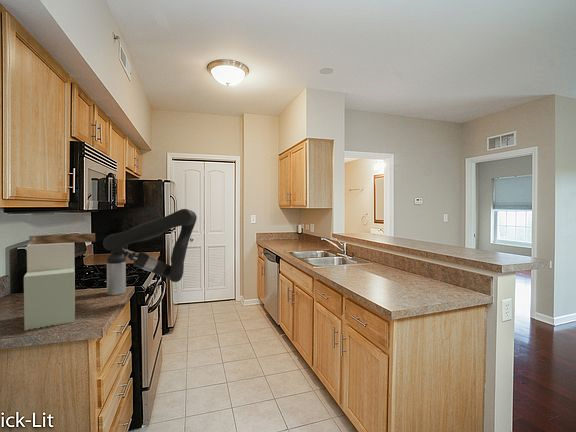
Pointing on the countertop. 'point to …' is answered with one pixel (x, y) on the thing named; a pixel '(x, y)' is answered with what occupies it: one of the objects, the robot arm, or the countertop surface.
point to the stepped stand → (49, 285)
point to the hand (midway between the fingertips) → (114, 248)
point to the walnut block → (61, 238)
